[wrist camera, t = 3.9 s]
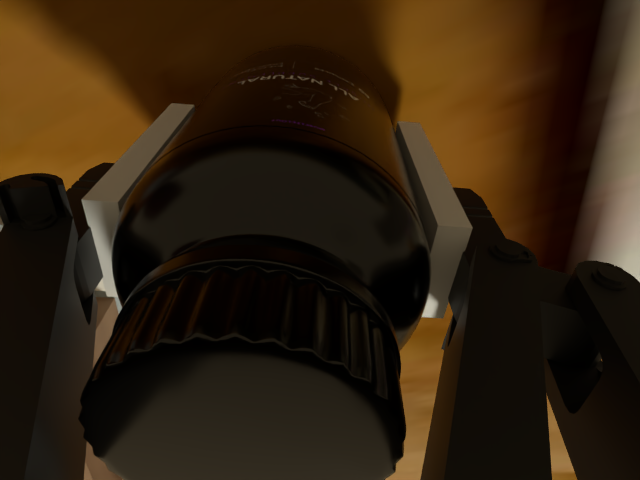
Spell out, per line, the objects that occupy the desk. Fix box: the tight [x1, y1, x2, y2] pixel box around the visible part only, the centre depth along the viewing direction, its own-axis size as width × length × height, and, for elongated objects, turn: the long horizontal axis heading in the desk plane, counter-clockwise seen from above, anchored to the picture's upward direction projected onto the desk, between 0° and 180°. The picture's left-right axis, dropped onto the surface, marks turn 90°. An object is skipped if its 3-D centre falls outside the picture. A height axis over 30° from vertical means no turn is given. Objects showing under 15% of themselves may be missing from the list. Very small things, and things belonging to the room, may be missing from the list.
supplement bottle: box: [78, 46, 431, 480], centre depth 11 cm, size 7×7×12 cm
